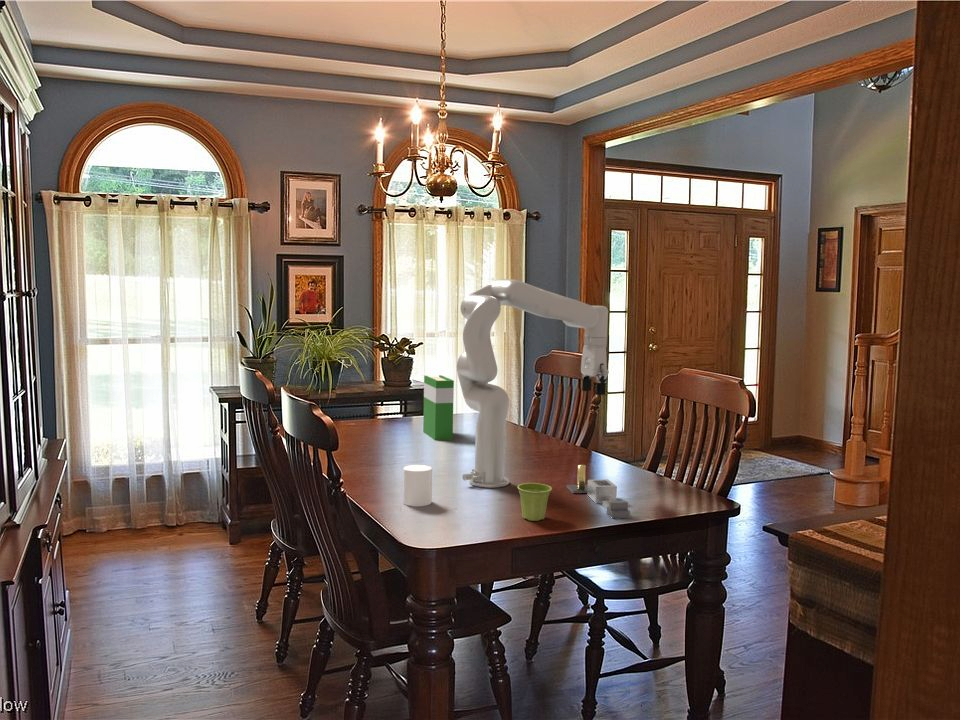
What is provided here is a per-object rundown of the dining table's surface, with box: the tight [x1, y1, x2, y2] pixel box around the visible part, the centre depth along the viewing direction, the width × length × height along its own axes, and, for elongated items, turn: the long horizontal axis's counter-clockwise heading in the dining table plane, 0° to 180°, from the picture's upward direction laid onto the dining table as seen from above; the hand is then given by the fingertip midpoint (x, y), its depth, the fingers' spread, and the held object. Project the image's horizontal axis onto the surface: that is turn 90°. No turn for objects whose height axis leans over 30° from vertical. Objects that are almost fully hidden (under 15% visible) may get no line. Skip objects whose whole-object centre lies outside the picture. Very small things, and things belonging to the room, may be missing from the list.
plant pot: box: [517, 482, 553, 522], centre depth 224 cm, size 9×9×9 cm
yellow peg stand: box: [566, 464, 588, 494], centre depth 254 cm, size 7×7×8 cm
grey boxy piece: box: [606, 500, 631, 519], centre depth 228 cm, size 5×5×4 cm
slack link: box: [601, 501, 609, 510], centre depth 236 cm, size 6×4×2 cm, turn 9°
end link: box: [586, 478, 618, 504], centre depth 245 cm, size 8×6×5 cm
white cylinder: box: [402, 464, 433, 508], centre depth 238 cm, size 8×10×12 cm
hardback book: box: [422, 374, 455, 441], centre depth 336 cm, size 18×7×24 cm, turn 19°
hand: (593, 392), depth 277 cm, fingers open, 9 cm apart
